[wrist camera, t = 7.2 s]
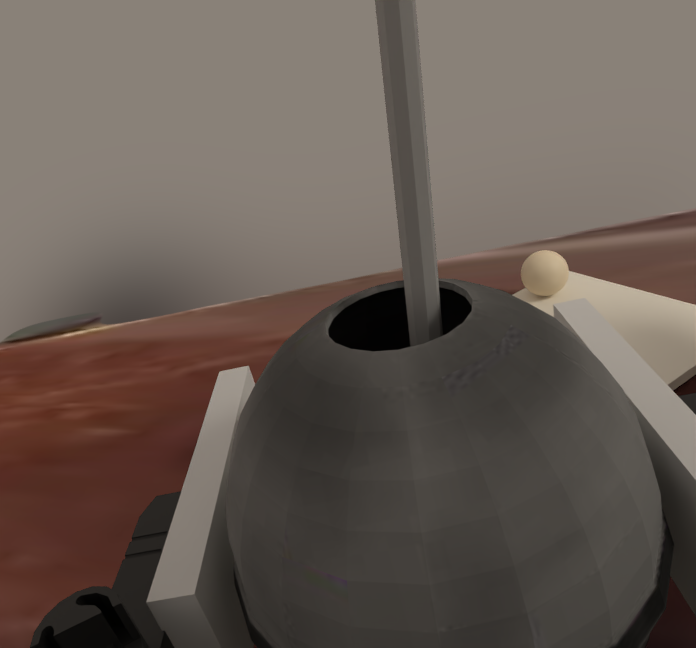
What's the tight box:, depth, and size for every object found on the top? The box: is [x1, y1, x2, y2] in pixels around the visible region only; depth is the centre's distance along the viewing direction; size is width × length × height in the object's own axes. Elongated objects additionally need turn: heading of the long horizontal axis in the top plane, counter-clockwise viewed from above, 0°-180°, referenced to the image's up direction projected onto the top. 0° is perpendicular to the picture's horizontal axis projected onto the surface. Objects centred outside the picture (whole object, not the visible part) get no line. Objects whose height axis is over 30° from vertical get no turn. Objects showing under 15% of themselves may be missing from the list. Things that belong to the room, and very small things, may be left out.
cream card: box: [513, 250, 696, 390], centre depth 33 cm, size 13×13×4 cm
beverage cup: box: [225, 0, 674, 648], centre depth 11 cm, size 7×7×20 cm
